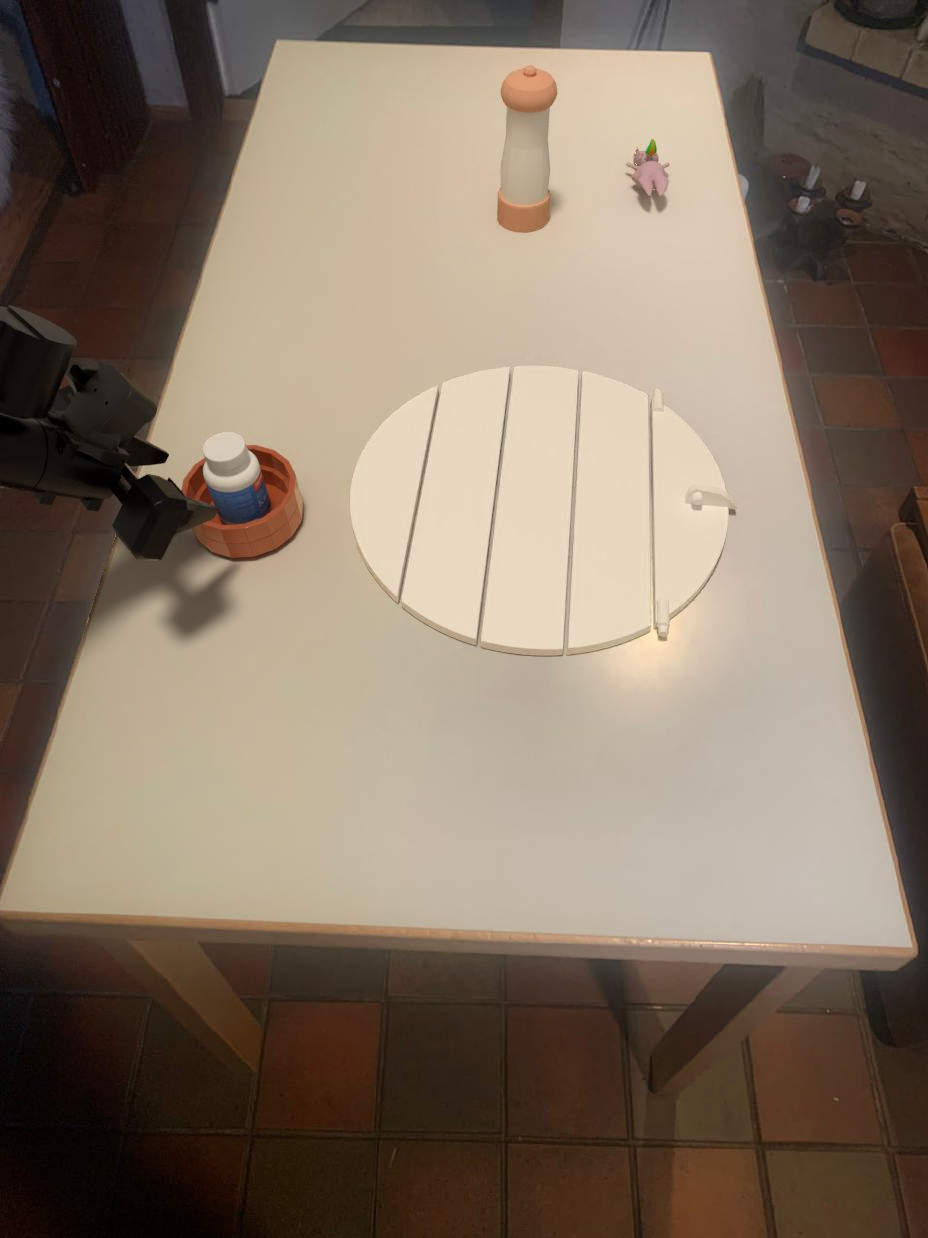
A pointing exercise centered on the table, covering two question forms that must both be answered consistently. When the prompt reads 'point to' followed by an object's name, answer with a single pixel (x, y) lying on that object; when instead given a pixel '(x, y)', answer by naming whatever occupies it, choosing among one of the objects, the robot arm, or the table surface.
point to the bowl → (258, 532)
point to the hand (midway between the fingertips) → (190, 484)
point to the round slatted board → (539, 510)
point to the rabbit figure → (649, 170)
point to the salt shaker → (526, 150)
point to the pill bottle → (234, 479)
